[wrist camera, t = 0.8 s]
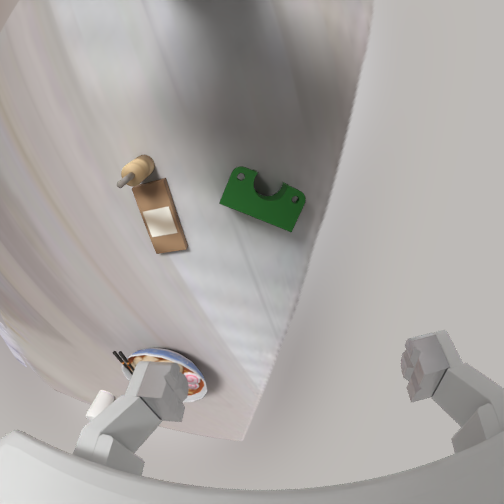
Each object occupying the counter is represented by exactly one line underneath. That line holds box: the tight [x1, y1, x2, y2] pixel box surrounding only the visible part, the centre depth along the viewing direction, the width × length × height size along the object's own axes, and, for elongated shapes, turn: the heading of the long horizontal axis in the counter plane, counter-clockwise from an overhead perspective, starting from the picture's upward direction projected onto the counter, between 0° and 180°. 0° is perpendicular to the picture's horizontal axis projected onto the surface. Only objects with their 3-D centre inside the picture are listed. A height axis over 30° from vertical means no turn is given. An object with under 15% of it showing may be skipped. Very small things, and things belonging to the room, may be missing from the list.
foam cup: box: [86, 390, 114, 421], centre depth 84 cm, size 10×9×13 cm
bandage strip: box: [132, 178, 188, 254], centre depth 48 cm, size 13×6×1 cm, turn 11°
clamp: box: [219, 166, 305, 232], centre depth 42 cm, size 12×6×9 cm, turn 61°
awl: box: [117, 155, 155, 188], centre depth 39 cm, size 4×4×9 cm
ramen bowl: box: [113, 348, 208, 402], centre depth 68 cm, size 25×23×8 cm
